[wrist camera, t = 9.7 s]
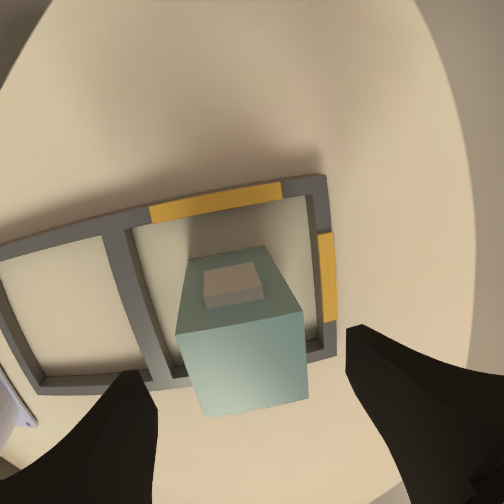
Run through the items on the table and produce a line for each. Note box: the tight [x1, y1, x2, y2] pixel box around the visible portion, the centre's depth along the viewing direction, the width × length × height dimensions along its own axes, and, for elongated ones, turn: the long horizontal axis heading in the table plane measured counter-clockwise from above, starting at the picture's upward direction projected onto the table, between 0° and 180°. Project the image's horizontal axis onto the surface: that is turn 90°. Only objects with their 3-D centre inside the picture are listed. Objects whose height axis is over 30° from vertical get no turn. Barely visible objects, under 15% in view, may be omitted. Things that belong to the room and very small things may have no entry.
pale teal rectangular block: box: [175, 246, 309, 418], centre depth 13 cm, size 4×4×7 cm
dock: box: [0, 173, 338, 396], centre depth 15 cm, size 21×11×1 cm, turn 99°
